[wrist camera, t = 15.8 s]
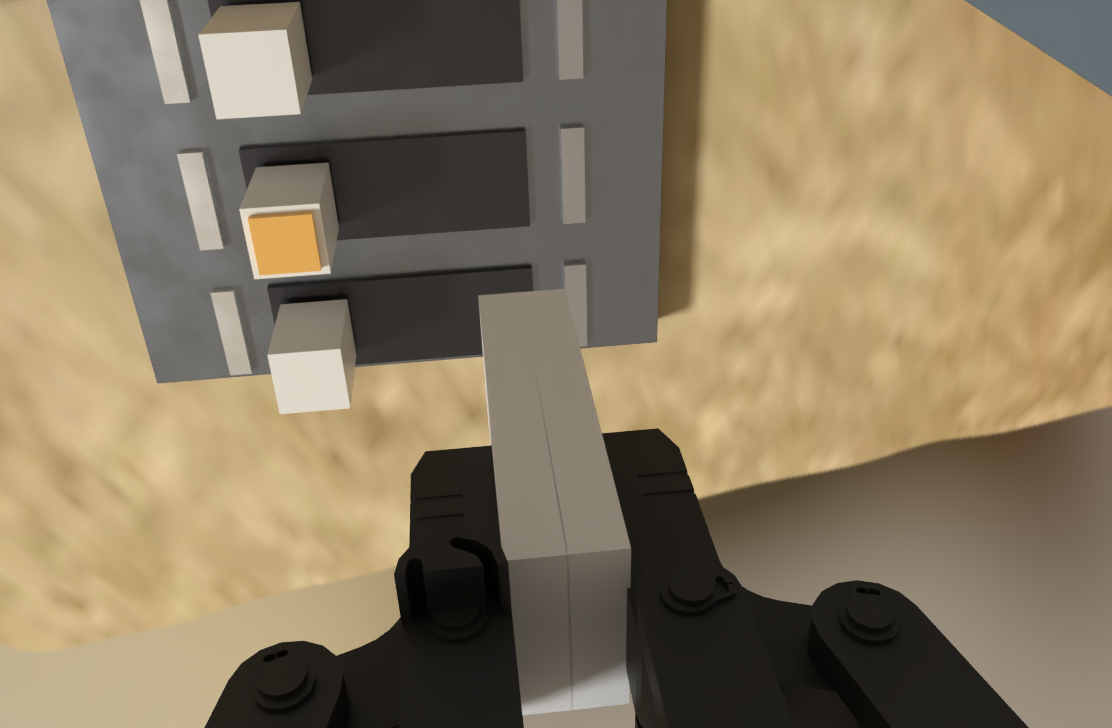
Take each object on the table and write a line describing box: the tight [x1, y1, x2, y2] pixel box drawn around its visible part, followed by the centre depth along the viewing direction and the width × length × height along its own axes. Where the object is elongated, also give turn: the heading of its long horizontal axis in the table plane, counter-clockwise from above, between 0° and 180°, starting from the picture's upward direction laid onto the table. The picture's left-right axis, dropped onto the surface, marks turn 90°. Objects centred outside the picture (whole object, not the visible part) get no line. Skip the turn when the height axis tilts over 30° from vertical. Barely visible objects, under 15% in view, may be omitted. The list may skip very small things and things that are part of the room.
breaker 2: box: [267, 299, 356, 414], centre depth 44 cm, size 3×3×4 cm
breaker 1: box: [198, 2, 312, 119], centre depth 37 cm, size 3×3×4 cm
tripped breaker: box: [239, 163, 339, 279], centre depth 41 cm, size 3×3×5 cm
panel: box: [47, 0, 667, 383], centre depth 44 cm, size 18×24×2 cm
